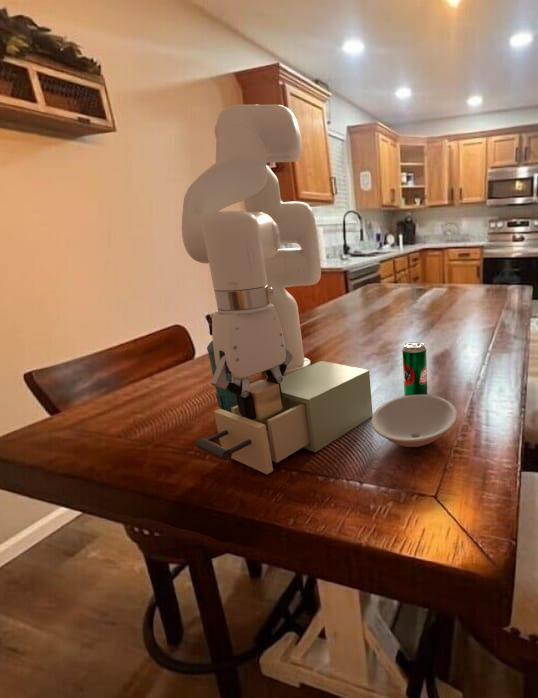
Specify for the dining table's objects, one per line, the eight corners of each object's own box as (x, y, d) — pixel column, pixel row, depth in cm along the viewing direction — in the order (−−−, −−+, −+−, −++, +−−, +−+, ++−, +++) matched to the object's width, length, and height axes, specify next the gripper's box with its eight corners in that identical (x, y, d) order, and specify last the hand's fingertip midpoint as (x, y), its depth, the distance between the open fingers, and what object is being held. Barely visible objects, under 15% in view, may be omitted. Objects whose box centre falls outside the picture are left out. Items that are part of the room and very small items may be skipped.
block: (242, 414, 66) (237, 388, 64) (265, 404, 69) (261, 379, 68) (260, 420, 63) (255, 393, 62) (282, 409, 67) (278, 384, 65)
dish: (447, 474, 61) (446, 445, 59) (358, 462, 65) (356, 435, 63) (463, 421, 77) (463, 397, 75) (391, 414, 81) (390, 391, 79)
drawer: (238, 492, 58) (228, 443, 55) (193, 468, 64) (183, 423, 61) (333, 433, 73) (328, 393, 70) (289, 419, 79) (284, 381, 77)
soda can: (425, 402, 86) (424, 348, 82) (402, 401, 87) (399, 348, 83) (429, 392, 91) (427, 341, 87) (406, 392, 92) (404, 341, 88)
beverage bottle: (261, 411, 85) (245, 318, 79) (240, 425, 79) (221, 326, 73) (236, 408, 88) (218, 317, 81) (214, 422, 82) (193, 325, 75)
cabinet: (315, 452, 69) (308, 399, 66) (267, 434, 76) (258, 385, 73) (372, 416, 81) (369, 370, 78) (326, 403, 88) (321, 360, 85)
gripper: (272, 290, 69) (287, 389, 75) (174, 308, 56) (200, 426, 62) (303, 292, 65) (316, 397, 71) (204, 312, 52) (230, 439, 58)
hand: (262, 409), depth 66 cm, fingers closed on block, 4 cm apart
